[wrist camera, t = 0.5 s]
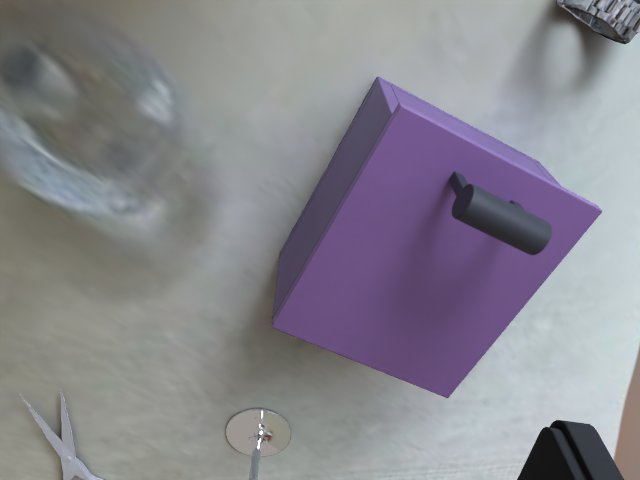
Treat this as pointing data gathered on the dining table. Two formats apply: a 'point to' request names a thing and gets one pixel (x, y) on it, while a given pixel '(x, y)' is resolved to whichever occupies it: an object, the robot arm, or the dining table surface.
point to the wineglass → (258, 435)
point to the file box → (351, 160)
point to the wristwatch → (607, 17)
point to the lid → (430, 254)
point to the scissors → (64, 445)
